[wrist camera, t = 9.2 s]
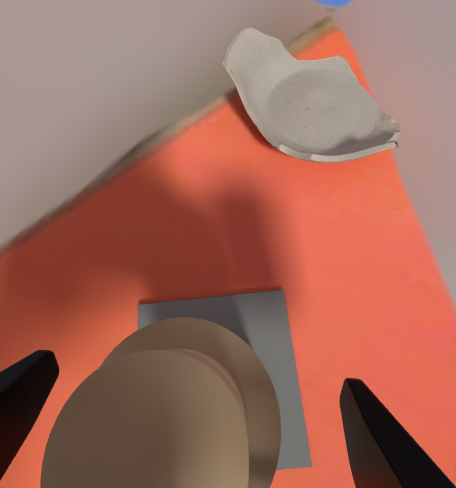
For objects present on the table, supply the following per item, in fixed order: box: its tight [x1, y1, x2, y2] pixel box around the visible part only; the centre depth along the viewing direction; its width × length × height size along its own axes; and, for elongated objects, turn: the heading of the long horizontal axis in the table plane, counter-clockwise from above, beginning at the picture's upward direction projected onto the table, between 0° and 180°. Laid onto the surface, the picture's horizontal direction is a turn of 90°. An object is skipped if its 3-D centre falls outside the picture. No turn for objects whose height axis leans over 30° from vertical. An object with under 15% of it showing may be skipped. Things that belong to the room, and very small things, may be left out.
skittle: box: [41, 317, 281, 488], centre depth 10 cm, size 5×5×12 cm
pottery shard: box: [223, 28, 400, 163], centre depth 19 cm, size 10×11×5 cm
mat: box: [138, 290, 312, 470], centre depth 16 cm, size 9×9×1 cm
